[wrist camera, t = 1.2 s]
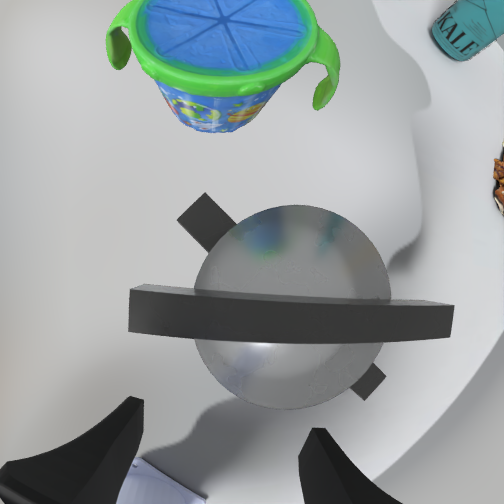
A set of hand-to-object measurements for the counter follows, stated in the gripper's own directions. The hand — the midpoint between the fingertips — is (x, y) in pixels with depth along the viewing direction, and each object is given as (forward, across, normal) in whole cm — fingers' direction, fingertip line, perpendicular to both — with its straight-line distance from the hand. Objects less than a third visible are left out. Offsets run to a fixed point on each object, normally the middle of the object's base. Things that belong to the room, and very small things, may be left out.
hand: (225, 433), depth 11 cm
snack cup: (+16, +5, -16) cm, 23 cm away
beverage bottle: (+22, -19, -34) cm, 45 cm away
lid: (+8, -3, -3) cm, 9 cm away
